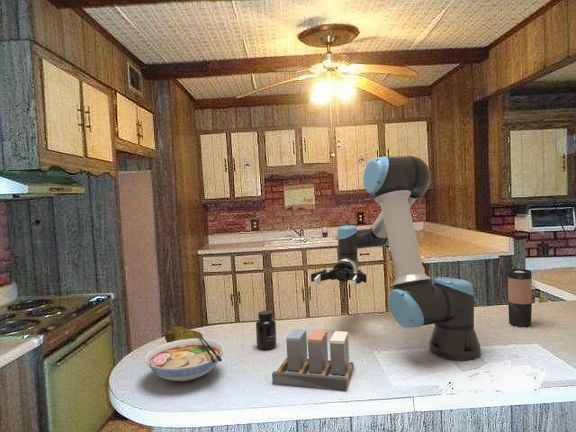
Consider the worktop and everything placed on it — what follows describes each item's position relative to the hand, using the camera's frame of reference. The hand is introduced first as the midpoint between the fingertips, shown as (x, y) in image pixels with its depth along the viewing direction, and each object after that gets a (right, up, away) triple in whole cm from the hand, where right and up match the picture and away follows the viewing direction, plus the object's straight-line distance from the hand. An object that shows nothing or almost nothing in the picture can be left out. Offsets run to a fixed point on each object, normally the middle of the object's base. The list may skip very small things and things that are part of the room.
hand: (334, 283), depth 141 cm
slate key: (-12, -23, -11) cm, 28 cm away
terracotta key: (-6, -23, -13) cm, 27 cm away
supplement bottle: (-22, -23, +6) cm, 33 cm away
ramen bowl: (-45, -25, -14) cm, 54 cm away
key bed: (-8, -24, -18) cm, 31 cm away
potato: (-51, -24, +8) cm, 57 cm away
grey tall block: (0, -23, -15) cm, 27 cm away
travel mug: (+70, -18, +17) cm, 74 cm away
